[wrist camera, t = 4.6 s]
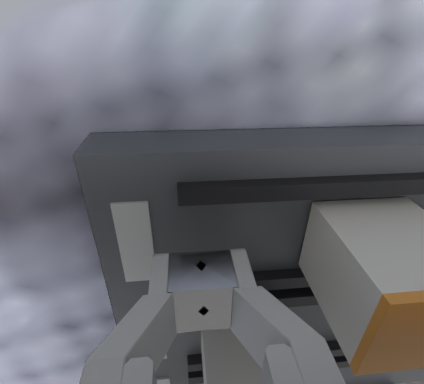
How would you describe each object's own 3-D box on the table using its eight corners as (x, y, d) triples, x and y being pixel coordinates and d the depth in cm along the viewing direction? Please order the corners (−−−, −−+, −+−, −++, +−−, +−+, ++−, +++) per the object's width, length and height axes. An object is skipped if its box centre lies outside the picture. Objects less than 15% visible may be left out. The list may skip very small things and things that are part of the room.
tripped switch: (407, 197, 10) (533, 292, 7) (381, 258, 12) (472, 362, 8) (312, 201, 10) (390, 304, 6) (298, 264, 12) (355, 375, 8)
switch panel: (621, 120, 12) (982, 199, 7) (443, 357, 21) (534, 472, 16) (90, 133, 10) (-12, 262, 5) (145, 390, 19) (132, 536, 14)
